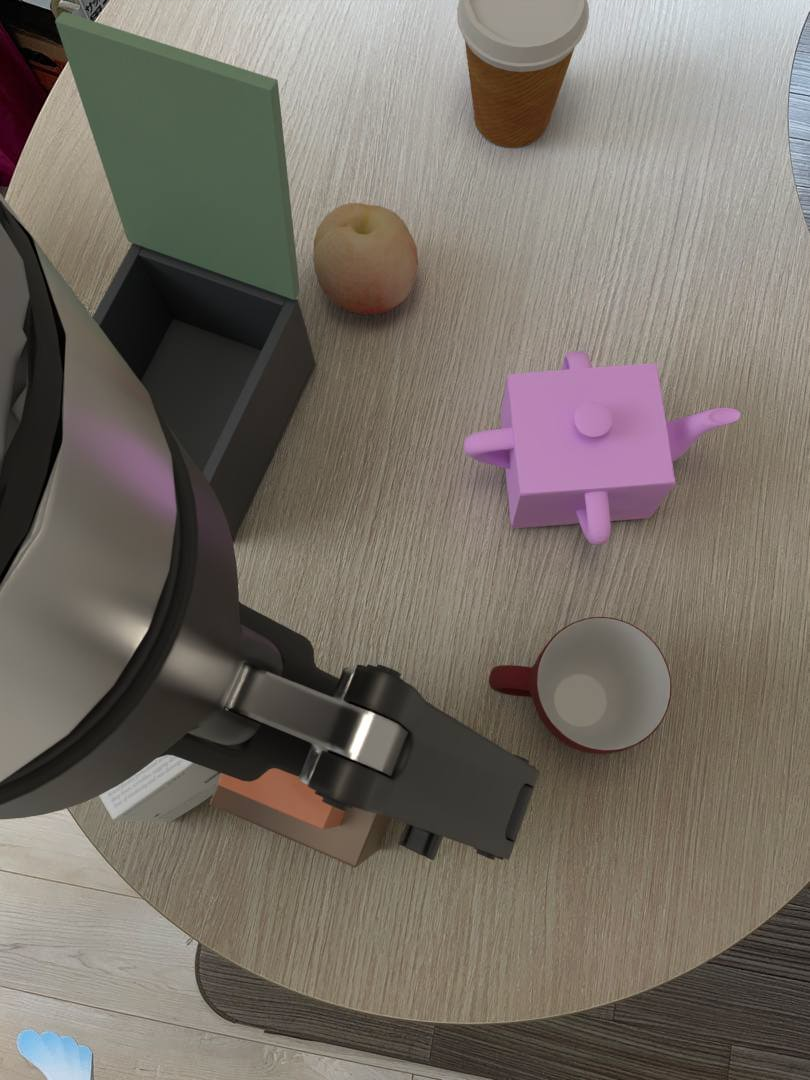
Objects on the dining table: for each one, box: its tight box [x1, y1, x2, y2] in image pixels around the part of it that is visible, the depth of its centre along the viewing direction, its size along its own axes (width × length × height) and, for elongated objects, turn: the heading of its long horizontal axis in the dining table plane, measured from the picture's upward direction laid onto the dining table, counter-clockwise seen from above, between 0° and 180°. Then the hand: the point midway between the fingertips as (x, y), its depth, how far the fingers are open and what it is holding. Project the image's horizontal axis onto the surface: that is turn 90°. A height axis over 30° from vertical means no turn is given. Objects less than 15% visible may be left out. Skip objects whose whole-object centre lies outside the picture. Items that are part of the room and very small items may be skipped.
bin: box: [92, 243, 317, 542], centre depth 67 cm, size 16×13×10 cm
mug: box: [488, 616, 672, 755], centre depth 61 cm, size 10×8×10 cm
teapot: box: [463, 350, 741, 546], centre depth 65 cm, size 18×14×10 cm
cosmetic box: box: [98, 733, 222, 823], centre depth 59 cm, size 6×4×12 cm
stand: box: [209, 785, 392, 868], centre depth 56 cm, size 8×8×18 cm
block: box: [218, 768, 346, 830], centre depth 44 cm, size 5×5×7 cm
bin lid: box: [54, 11, 301, 300], centre depth 57 cm, size 16×13×1 cm
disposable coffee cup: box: [456, 0, 590, 148], centre depth 73 cm, size 10×10×12 cm
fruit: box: [313, 202, 419, 315], centre depth 71 cm, size 8×8×8 cm
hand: (238, 704), depth 34 cm, fingers open, 13 cm apart
